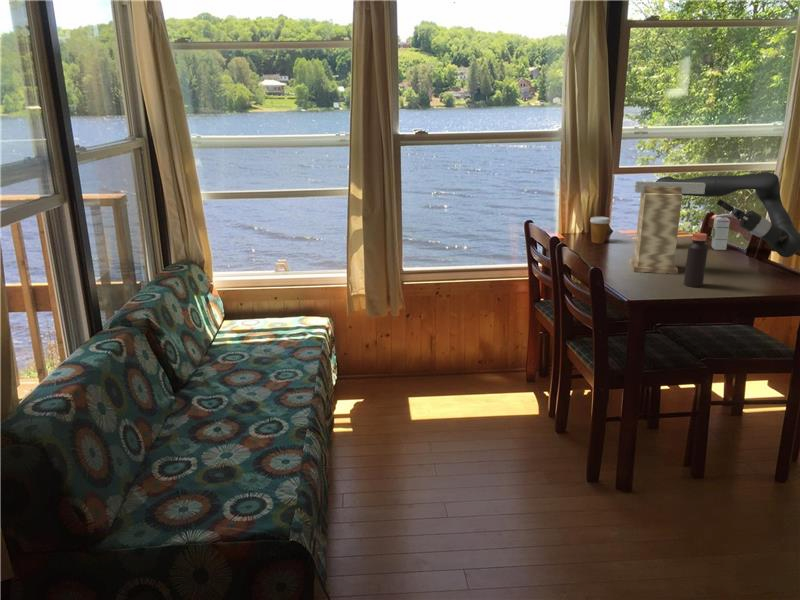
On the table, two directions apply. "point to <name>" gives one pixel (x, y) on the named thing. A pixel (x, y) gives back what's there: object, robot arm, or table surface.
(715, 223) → the syrup box
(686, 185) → the rail
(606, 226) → the disposable coffee cup
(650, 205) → the post
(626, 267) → the table surface
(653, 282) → the table surface
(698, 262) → the bottle
